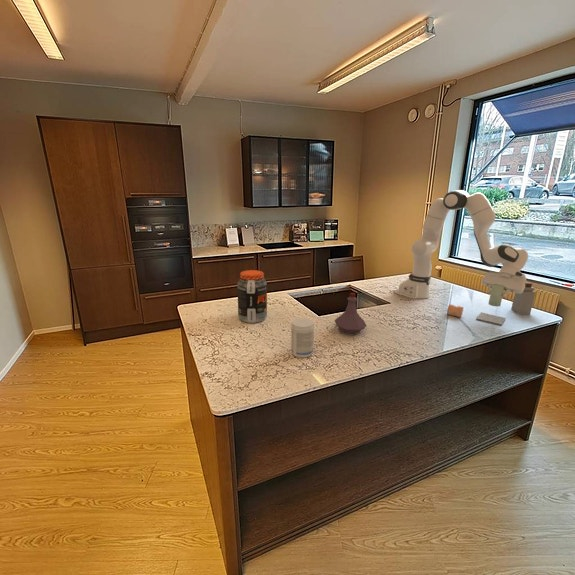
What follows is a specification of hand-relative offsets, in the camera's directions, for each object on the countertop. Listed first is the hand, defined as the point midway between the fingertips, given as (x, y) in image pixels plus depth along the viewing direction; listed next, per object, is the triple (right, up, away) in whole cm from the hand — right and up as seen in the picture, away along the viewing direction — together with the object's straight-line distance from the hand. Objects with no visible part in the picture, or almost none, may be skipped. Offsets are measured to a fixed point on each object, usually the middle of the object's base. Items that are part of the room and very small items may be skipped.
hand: (495, 294), depth 174 cm
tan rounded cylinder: (-16, -10, +11) cm, 22 cm away
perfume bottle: (+26, -11, +17) cm, 33 cm away
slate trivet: (0, -14, +5) cm, 15 cm away
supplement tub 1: (-132, -13, +3) cm, 133 cm away
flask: (-81, -18, -11) cm, 84 cm away
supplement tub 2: (-107, -25, -33) cm, 115 cm away
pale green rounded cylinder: (+1, -6, +2) cm, 6 cm away
